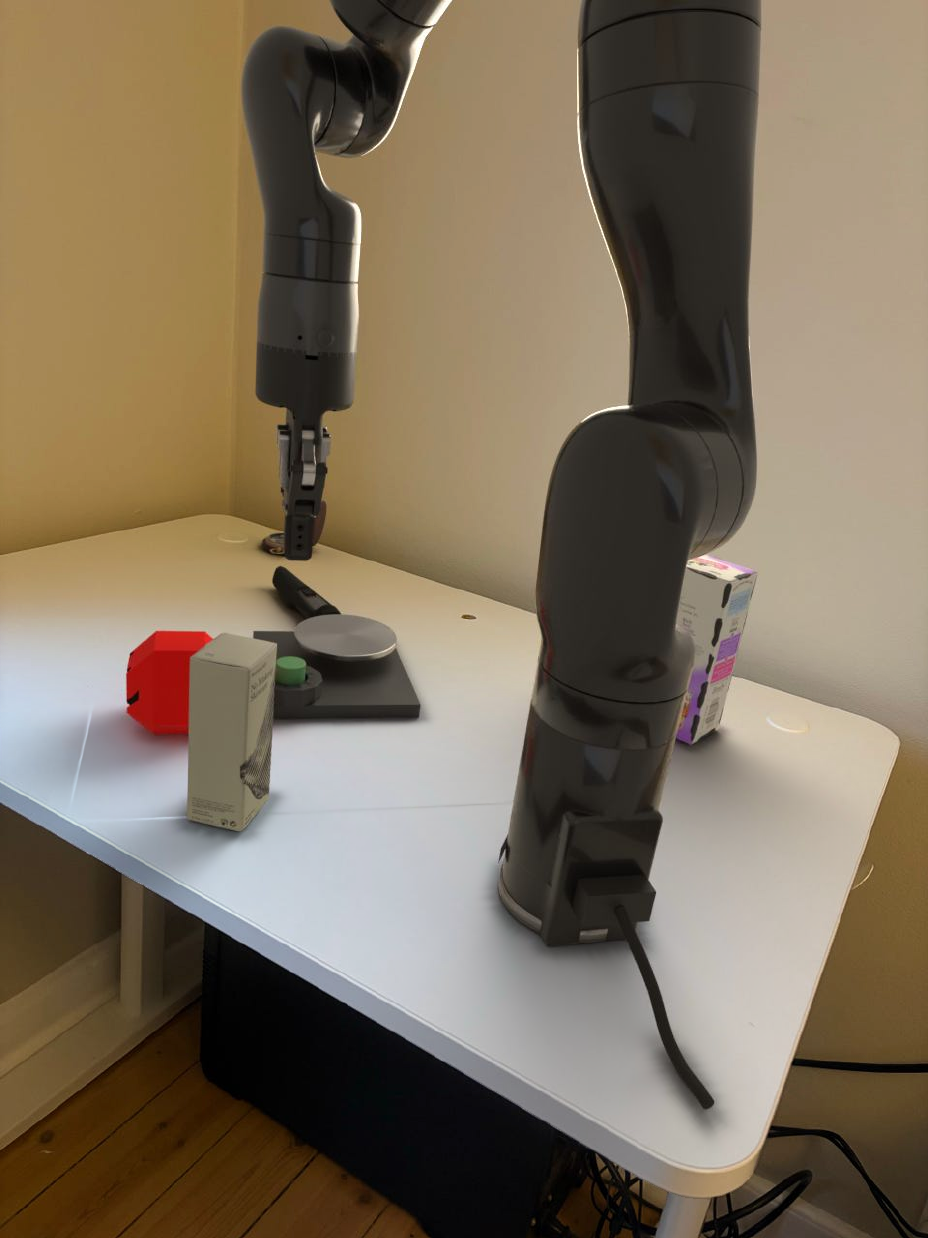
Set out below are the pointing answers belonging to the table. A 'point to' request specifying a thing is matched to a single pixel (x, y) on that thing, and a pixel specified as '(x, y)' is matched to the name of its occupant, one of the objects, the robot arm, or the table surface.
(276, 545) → the compass
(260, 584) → the table surface
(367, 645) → the weighing pan
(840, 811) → the table surface
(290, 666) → the tare button
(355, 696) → the scale
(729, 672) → the candy box
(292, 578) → the electric trimmer
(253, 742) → the box
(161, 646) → the red chamfered polyhedron
